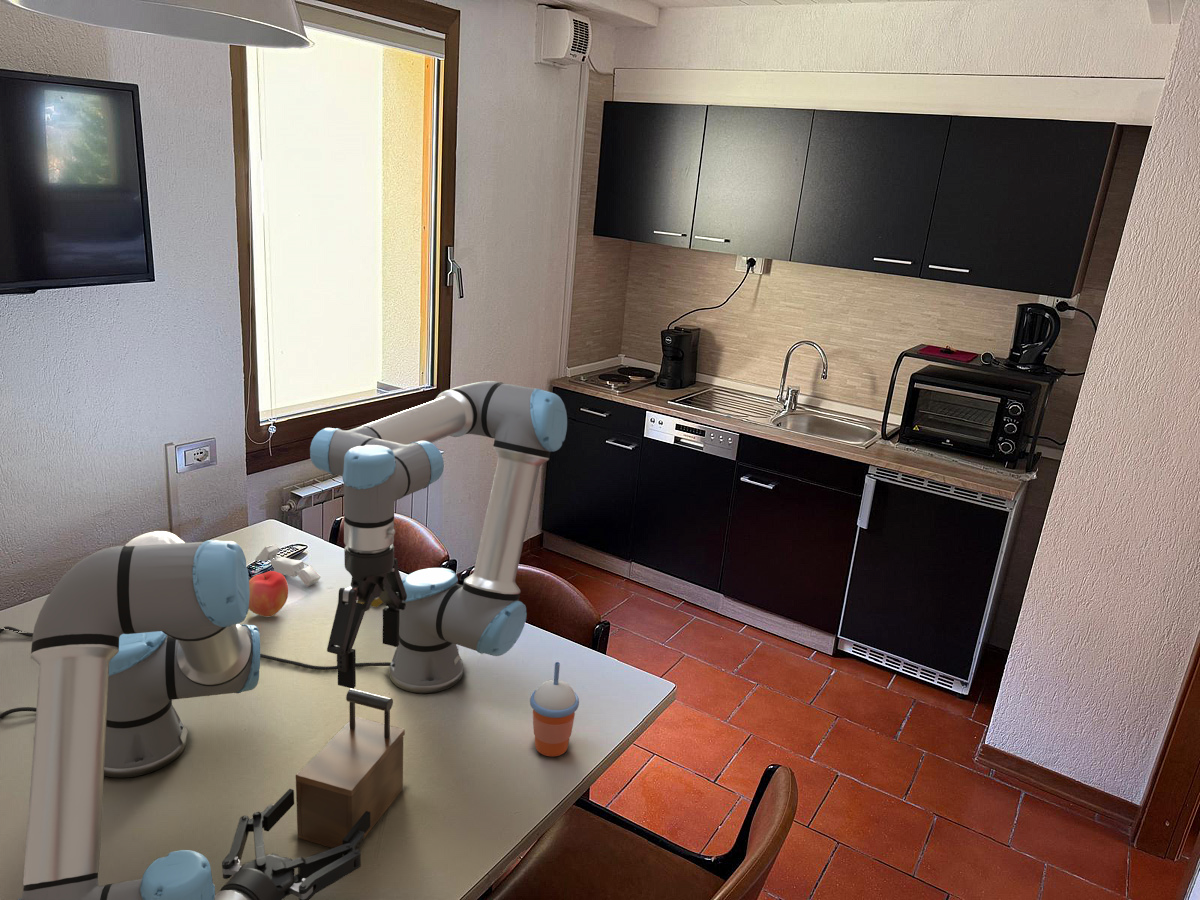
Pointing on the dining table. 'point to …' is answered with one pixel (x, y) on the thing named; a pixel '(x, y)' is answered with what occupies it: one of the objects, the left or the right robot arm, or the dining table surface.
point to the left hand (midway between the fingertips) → (329, 807)
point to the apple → (267, 593)
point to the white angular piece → (288, 565)
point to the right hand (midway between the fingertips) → (369, 664)
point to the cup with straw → (553, 715)
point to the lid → (353, 748)
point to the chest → (348, 803)
